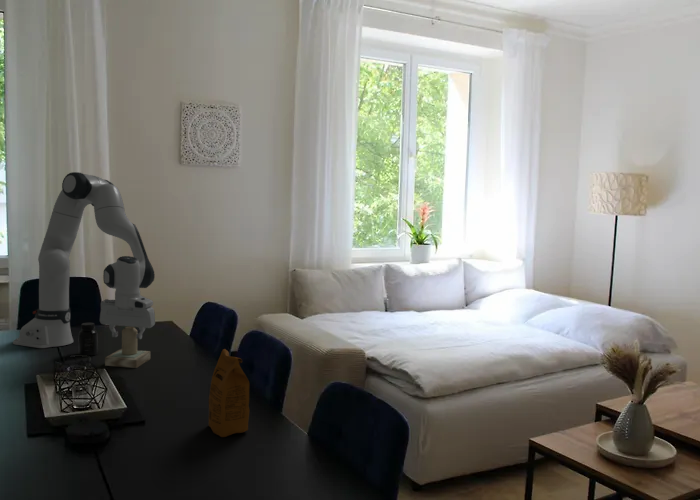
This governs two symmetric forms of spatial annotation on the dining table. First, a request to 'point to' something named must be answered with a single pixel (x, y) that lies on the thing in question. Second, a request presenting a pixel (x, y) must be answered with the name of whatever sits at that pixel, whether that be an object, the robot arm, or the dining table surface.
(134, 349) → the candle
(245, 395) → the coffee package
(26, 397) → the dining table surface
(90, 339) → the supplement bottle
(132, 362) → the plinth
